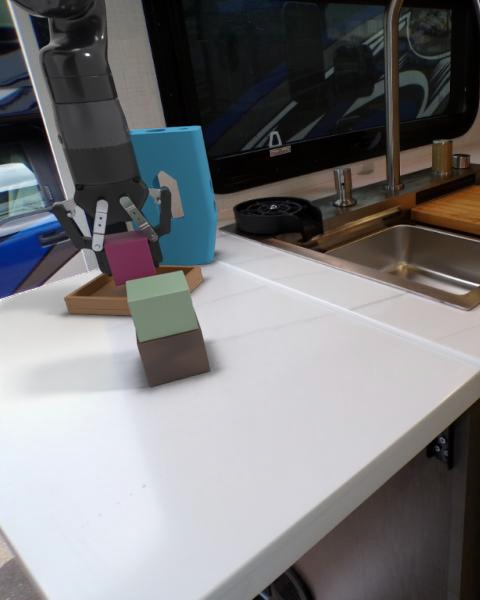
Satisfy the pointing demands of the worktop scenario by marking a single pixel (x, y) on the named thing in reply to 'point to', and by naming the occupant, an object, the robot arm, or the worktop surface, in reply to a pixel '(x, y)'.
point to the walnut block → (174, 356)
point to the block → (192, 189)
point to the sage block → (161, 306)
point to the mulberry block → (128, 256)
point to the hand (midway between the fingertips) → (133, 269)
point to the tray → (118, 292)
